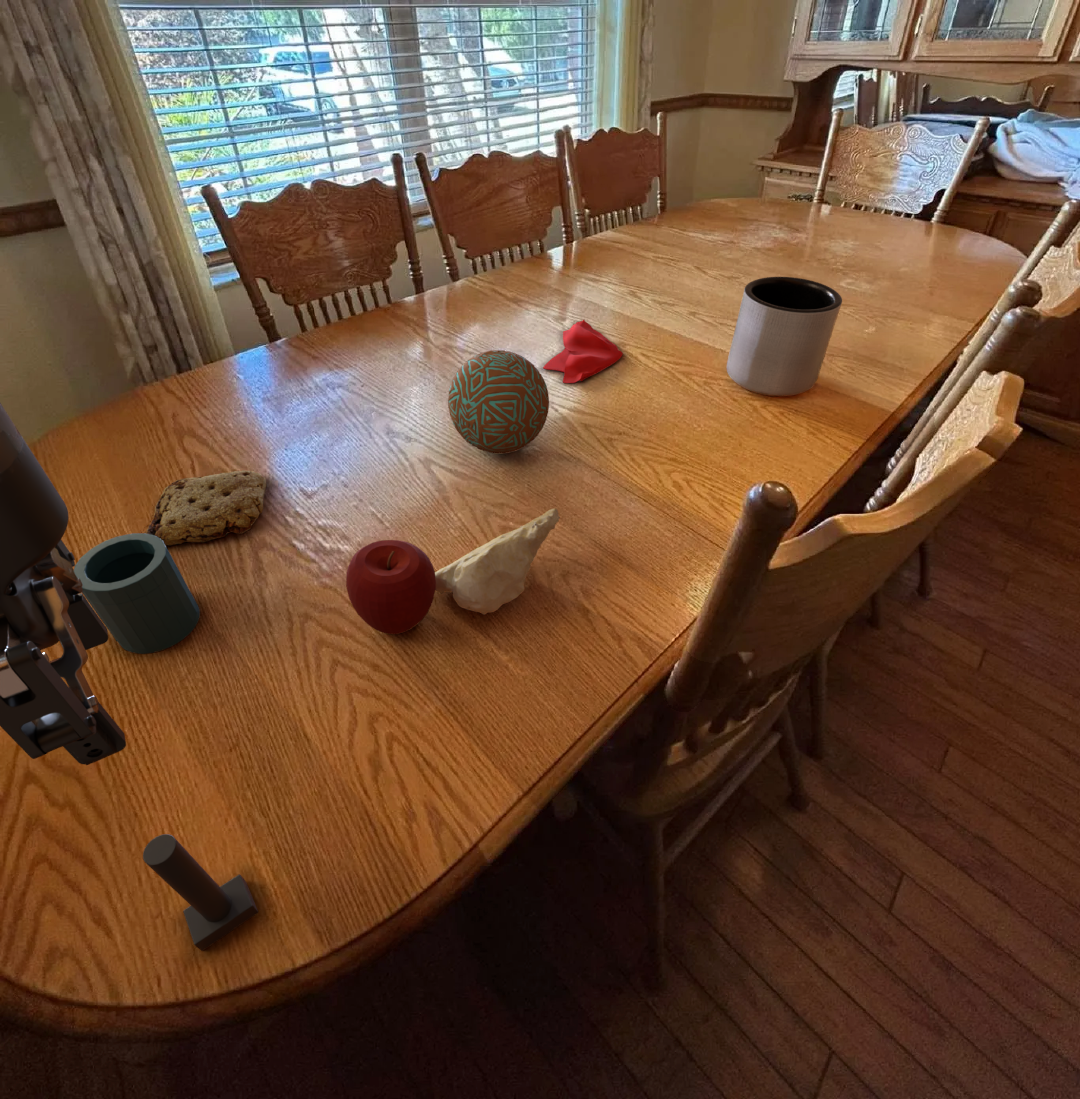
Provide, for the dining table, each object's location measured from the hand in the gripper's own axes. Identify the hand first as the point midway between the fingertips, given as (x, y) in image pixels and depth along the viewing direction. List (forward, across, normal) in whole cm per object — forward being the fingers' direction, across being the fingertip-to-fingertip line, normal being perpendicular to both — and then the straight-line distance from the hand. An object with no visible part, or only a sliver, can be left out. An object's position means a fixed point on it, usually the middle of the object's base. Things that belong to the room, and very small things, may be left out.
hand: (97, 694), depth 36 cm
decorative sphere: (+24, -43, +50) cm, 70 cm away
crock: (+24, -32, -1) cm, 40 cm away
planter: (+24, -36, +103) cm, 112 cm away
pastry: (+25, -50, +8) cm, 56 cm away
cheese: (+24, -17, +36) cm, 46 cm away
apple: (+25, -18, +22) cm, 38 cm away
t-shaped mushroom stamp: (+24, +4, -2) cm, 25 cm away
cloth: (+24, -62, +80) cm, 104 cm away
